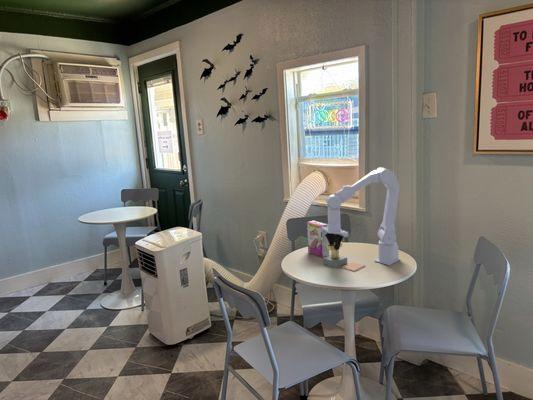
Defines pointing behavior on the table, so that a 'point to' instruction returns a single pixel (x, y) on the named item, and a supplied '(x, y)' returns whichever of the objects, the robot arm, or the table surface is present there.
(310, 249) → the candy bar box
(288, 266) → the table surface
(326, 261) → the slate socket block
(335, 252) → the brass rectangular peg
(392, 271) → the table surface
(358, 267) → the terracotta pad
